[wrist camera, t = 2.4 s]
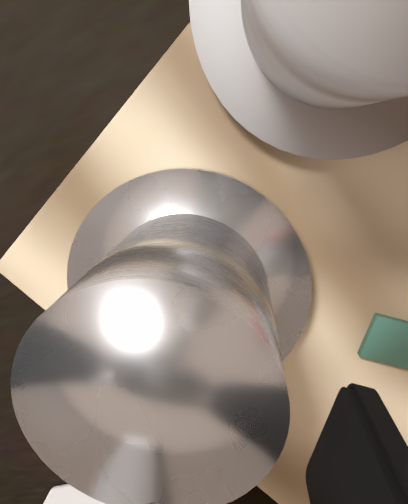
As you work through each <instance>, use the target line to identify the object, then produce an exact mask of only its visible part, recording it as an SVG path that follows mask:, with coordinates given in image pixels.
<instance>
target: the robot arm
mask: <svg viewBox="0 0 408 504" xmlns="http://www.w3.org/2000/svg"><path fill="white" fill-rule="evenodd" d="M306 485H307V490H308V495H309V500H310V504H408V446H407V444H406V442H405V441H404V439H403V437H402V435H401V433H400V432H399V430H398V428H397V426H396V424H395V423H394V421H393V419H392V417H391V415H390V414H389V412H388V410H387V408H386V406H385V405H384V403H383V401H382V399H381V397H380V396H379V394H378V392H377V391H376V390H375V389H373V388H370V387H366V386H362V385H358V384H354V383H351V384H349V385H348V386H347V388H346V387H342V388H341V389H340V390H339V392H338V394H337V397H336V399H335V401H334V404H333V406H332V409H331V411H330V413H329V416H328V418H327V420H326V423H325V425H324V427H323V430H322V432H321V434H320V437H319V439H318V441H317V444H316V446H315V448H314V451H313V453H312V455H311V458H310V460H309V462H308V465H307V468H306Z"/></svg>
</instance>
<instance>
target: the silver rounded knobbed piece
mask: <svg viewBox="0 0 408 504" xmlns="http://www.w3.org/2000/svg"><path fill="white" fill-rule="evenodd" d="M67 288H68V290H67V291H66V292H65V293H64V294H63V295H62V296H61V297H60V298H59V299H57V300H56V301H55V302H54V303H53V304H52V305H51V306H50V307H49V308H48V309H47V310H46V311H45V312H43V313H42V314H41V315H40V316H39V317H38V318H37V319H36V320H35V321H34V322H33V324H32V325H31V326H30V328H29V329H28V330H27V332H26V333H25V335H24V337H23V339H22V340H21V342H20V344H19V346H18V349H17V352H16V355H15V358H14V361H13V366H12V373H11V395H12V401H13V407H14V410H15V414H16V417H17V420H18V422H19V425H20V427H21V429H22V431H23V434H24V435H25V437H26V439H27V440H28V442H29V444H30V445H31V447H32V448H33V449H34V451H35V452H36V453H37V455H38V456H39V457H40V458H41V460H42V461H43V462H44V463H45V464H46V465H47V466H48V467H49V468H50V469H51V470H52V471H53V472H54V473H55V474H57V475H58V476H59V477H60V478H61V479H63V480H64V481H65V482H67V483H68V484H70V485H71V486H73V487H74V488H76V489H77V490H78V491H80V492H82V493H84V494H86V495H88V496H90V497H91V498H93V499H96V500H98V501H100V502H103V503H105V504H227V503H230V502H232V501H234V500H236V499H237V498H239V497H241V496H243V495H244V494H246V493H247V492H249V491H250V490H251V489H252V488H254V487H255V486H256V485H258V484H259V483H260V482H261V481H262V480H263V478H264V477H265V476H266V475H267V474H268V473H269V472H270V470H271V469H272V468H273V466H274V465H275V463H276V462H277V460H278V458H279V456H280V454H281V452H282V450H283V448H284V445H285V442H286V439H287V436H288V431H289V423H290V401H289V396H288V390H287V385H286V379H285V374H284V368H283V363H282V361H283V360H284V359H285V358H286V357H287V355H288V354H289V353H290V352H291V351H292V349H293V348H294V346H295V344H296V343H297V341H298V340H299V338H300V336H301V334H302V332H303V329H304V327H305V325H306V321H307V318H308V315H309V311H310V304H311V297H312V280H311V273H310V267H309V263H308V259H307V256H306V253H305V250H304V247H303V245H302V243H301V241H300V239H299V237H298V235H297V233H296V231H295V229H294V228H293V226H292V225H291V223H290V222H289V220H288V219H287V217H286V216H285V215H284V214H283V212H282V211H281V210H280V209H279V208H278V207H277V206H276V204H274V203H273V202H272V201H271V200H270V199H269V198H268V197H266V196H265V195H264V194H263V193H262V192H260V191H259V190H257V189H255V188H254V187H252V186H251V185H249V184H248V183H246V182H244V181H241V180H239V179H237V178H235V177H233V176H230V175H227V174H224V173H221V172H218V171H213V170H208V169H203V168H189V167H179V168H168V169H162V170H158V171H154V172H149V173H147V174H144V175H142V176H139V177H136V178H134V179H132V180H129V181H128V182H126V183H124V184H122V185H120V186H119V187H117V188H115V189H114V190H112V191H111V192H110V193H108V194H107V195H106V196H104V197H103V198H102V199H101V200H100V201H99V202H98V203H97V204H96V205H95V206H94V207H93V208H92V209H91V211H90V212H89V213H88V215H87V216H86V217H85V219H84V220H83V221H82V223H81V225H80V227H79V229H78V231H77V233H76V235H75V237H74V240H73V243H72V246H71V249H70V253H69V258H68V263H67Z"/></svg>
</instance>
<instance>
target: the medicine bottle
mask: <svg viewBox="0 0 408 504" xmlns="http://www.w3.org/2000/svg"><path fill="white" fill-rule="evenodd" d="M43 504H105V503H103V502H100V501H98V500H96V499H93V498H91V497H90V496H88V495H86V494H84V493H82V492H80V491H78V490H77V489H76V488H74V487H73V486H71V485H70V484H65V485H60V486H55V487H53V488H52V489H51V490H50V492H49V494H48V496H47V498H46V500H45V502H44V503H43Z"/></svg>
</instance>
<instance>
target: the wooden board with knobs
mask: <svg viewBox="0 0 408 504" xmlns="http://www.w3.org/2000/svg"><path fill="white" fill-rule="evenodd" d="M189 10H190V23H189V24H188V25H187V26H186V28H185V29H184V30H183V31H182V33H181V34H180V35H179V37H178V38H177V39H176V40H175V42H174V43H173V44H172V45H171V47H170V48H169V49H168V50H167V52H166V53H165V54H164V55H163V57H162V58H161V59H160V60H159V62H158V63H157V64H156V65H155V67H154V68H153V69H152V70H151V72H150V73H149V74H148V75H147V77H146V78H145V79H144V80H143V82H142V83H141V84H140V85H139V87H138V88H137V89H136V90H135V92H134V93H133V94H132V95H131V97H130V98H129V99H128V100H127V102H126V103H125V104H124V105H123V107H122V108H121V109H120V110H119V112H118V113H117V114H116V115H115V117H114V118H113V119H112V121H111V122H110V123H109V124H108V126H107V127H106V128H105V129H104V131H103V132H102V133H101V134H100V136H99V137H98V138H97V139H96V141H95V142H94V143H93V144H92V146H91V147H90V148H89V149H88V151H87V152H86V153H85V154H84V156H83V157H82V158H81V159H80V161H79V162H78V163H77V164H76V166H75V167H74V168H73V169H72V171H71V172H70V173H69V174H68V176H67V177H66V178H65V179H64V181H63V182H62V183H61V184H60V186H59V187H58V188H57V189H56V191H55V192H54V193H53V194H52V196H51V197H50V198H49V199H48V201H47V202H46V203H45V205H44V206H43V207H42V208H41V210H40V211H39V212H38V213H37V215H36V216H35V217H34V218H33V220H32V221H31V222H30V223H29V225H28V226H27V227H26V228H25V230H24V231H23V232H22V233H21V235H20V236H19V237H18V238H17V240H16V241H15V242H14V243H13V245H12V246H11V247H10V248H9V250H8V251H7V252H6V253H5V255H4V256H3V257H2V258H1V260H0V273H1V274H2V275H4V276H5V277H6V278H7V279H8V280H10V281H11V282H12V283H13V284H15V285H16V286H17V287H18V288H19V289H21V290H22V291H23V292H24V293H25V294H27V295H28V296H29V297H30V298H31V299H33V300H34V301H35V302H36V303H37V304H39V305H40V306H41V307H42V308H43V309H45V310H47V309H48V308H49V307H50V306H51V305H52V304H53V303H54V302H55V301H56V300H57V299H59V298H60V297H61V296H62V295H63V294H64V293H65V292H66V291H67V290H68V288H67V263H68V258H69V253H70V249H71V246H72V243H73V240H74V237H75V235H76V233H77V231H78V229H79V227H80V225H81V223H82V221H83V220H84V219H85V217H86V216H87V215H88V213H89V212H90V211H91V209H92V208H93V207H94V206H95V205H96V204H97V203H98V202H99V201H100V200H101V199H102V198H103V197H104V196H106V195H107V194H108V193H110V192H111V191H112V190H114V189H115V188H117V187H119V186H120V185H122V184H124V183H126V182H128V181H129V180H132V179H134V178H136V177H139V176H142V175H144V174H147V173H149V172H154V171H158V170H162V169H168V168H179V167H189V168H203V169H208V170H213V171H218V172H221V173H224V174H227V175H230V176H233V177H235V178H237V179H239V180H241V181H244V182H246V183H248V184H249V185H251V186H252V187H254V188H255V189H257V190H259V191H260V192H262V193H263V194H264V195H265V196H266V197H268V198H269V199H270V200H271V201H272V202H273V203H274V204H276V206H277V207H278V208H279V209H280V210H281V211H282V212H283V214H284V215H285V216H286V217H287V219H288V220H289V222H290V223H291V225H292V226H293V228H294V229H295V231H296V233H297V235H298V237H299V239H300V241H301V243H302V245H303V247H304V250H305V253H306V256H307V259H308V263H309V267H310V273H311V280H312V297H311V304H310V311H309V315H308V318H307V321H306V325H305V327H304V329H303V332H302V334H301V336H300V338H299V340H298V341H297V343H296V344H295V346H294V348H293V349H292V351H291V352H290V353H289V354H288V355H287V357H286V358H285V359H284V360H283V361H282V363H283V368H284V374H285V379H286V385H287V390H288V396H289V401H290V423H289V431H288V436H287V439H286V442H285V445H284V448H283V450H282V452H281V454H280V456H279V458H278V460H277V462H276V463H275V465H274V466H273V468H272V469H271V470H270V472H269V473H268V474H267V475H266V476H265V477H264V478H263V480H262V481H261V482H260V483H259V484H258V485H257V486H258V487H259V488H260V489H261V490H263V491H264V492H265V493H266V494H267V495H269V496H270V497H271V498H272V499H273V500H275V501H276V502H277V503H278V504H310V500H309V495H308V490H307V485H306V468H307V465H308V462H309V460H310V458H311V455H312V453H313V451H314V448H315V446H316V444H317V441H318V439H319V437H320V434H321V432H322V430H323V427H324V425H325V423H326V420H327V418H328V416H329V413H330V411H331V409H332V406H333V404H334V401H335V399H336V397H337V394H338V392H339V390H340V389H341V388H342V387H346V388H347V386H348V385H349V384H351V383H354V384H358V385H362V386H366V387H370V388H373V389H375V390H376V391H377V392H378V394H379V396H380V397H381V399H382V401H383V403H384V405H385V406H386V408H387V410H388V412H389V414H390V415H391V417H392V419H393V421H394V423H395V424H396V426H397V428H398V430H399V432H400V433H401V435H402V437H403V439H404V441H405V442H406V444H407V446H408V0H189Z"/></svg>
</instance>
